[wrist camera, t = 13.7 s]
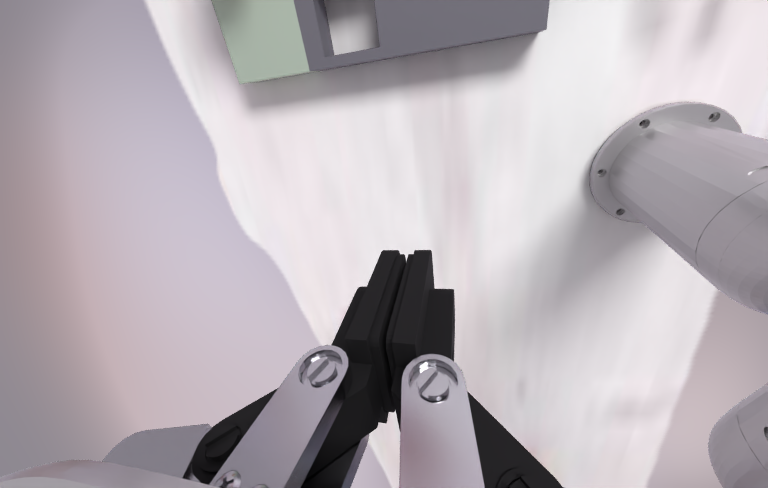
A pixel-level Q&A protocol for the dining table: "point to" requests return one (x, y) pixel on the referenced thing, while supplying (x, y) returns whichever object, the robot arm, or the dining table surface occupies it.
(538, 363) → the dining table surface
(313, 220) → the dining table surface
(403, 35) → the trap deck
